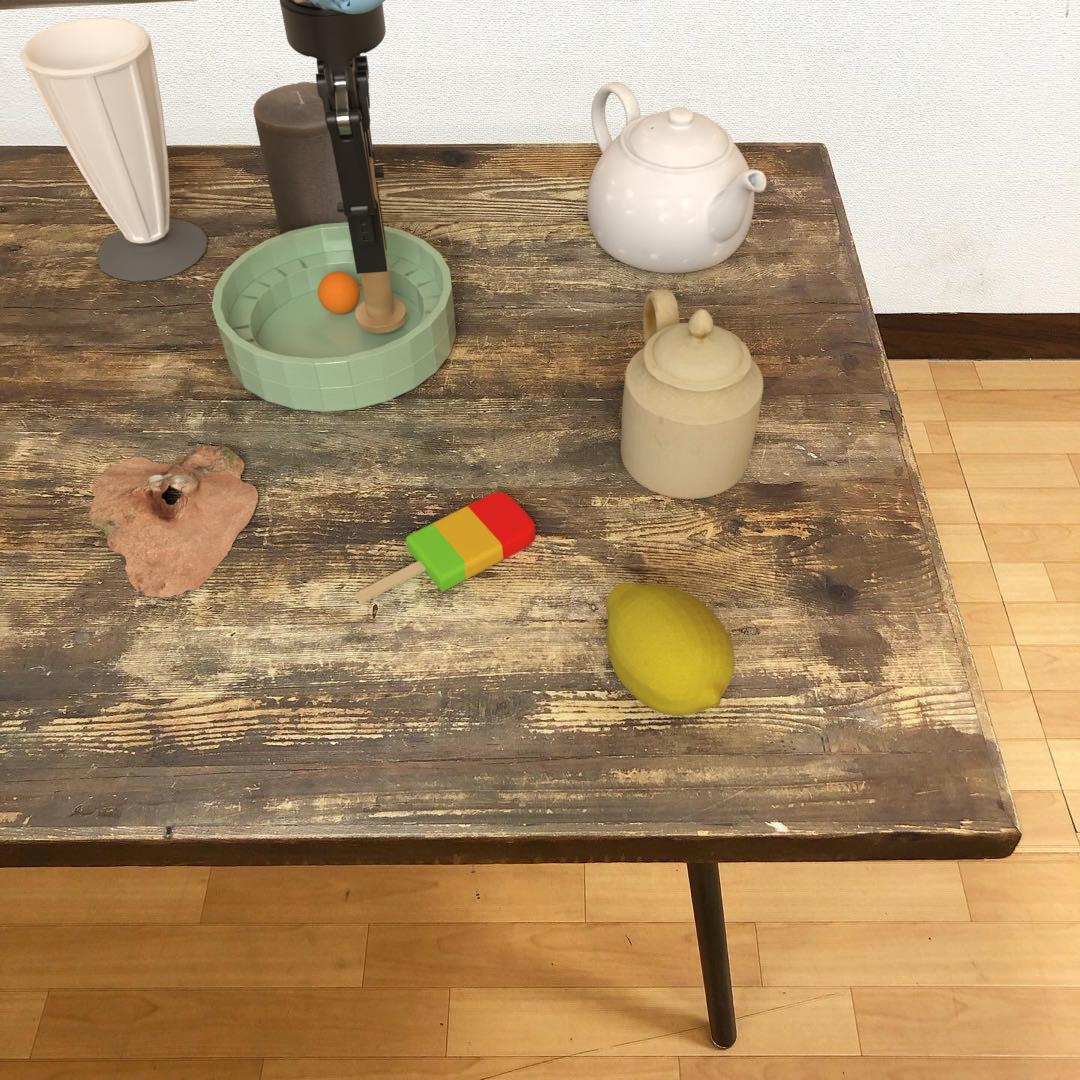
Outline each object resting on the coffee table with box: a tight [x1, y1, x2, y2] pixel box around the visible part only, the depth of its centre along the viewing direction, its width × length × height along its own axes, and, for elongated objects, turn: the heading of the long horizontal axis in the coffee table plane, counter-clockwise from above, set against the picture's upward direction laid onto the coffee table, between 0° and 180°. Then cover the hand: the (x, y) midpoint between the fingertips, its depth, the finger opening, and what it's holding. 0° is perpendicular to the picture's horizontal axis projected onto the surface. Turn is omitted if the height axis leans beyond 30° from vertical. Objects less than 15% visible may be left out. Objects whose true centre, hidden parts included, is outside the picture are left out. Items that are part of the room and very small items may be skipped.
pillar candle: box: [253, 81, 348, 235], centre depth 110 cm, size 10×10×15 cm
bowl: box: [211, 222, 457, 413], centre depth 100 cm, size 22×22×6 cm
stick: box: [355, 157, 407, 333], centre depth 95 cm, size 5×5×16 cm
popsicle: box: [354, 491, 537, 604], centre depth 83 cm, size 6×15×2 cm, turn 125°
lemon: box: [605, 582, 736, 717], centre depth 73 cm, size 11×8×8 cm
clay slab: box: [88, 445, 259, 599], centre depth 85 cm, size 15×13×3 cm
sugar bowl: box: [620, 288, 764, 500], centre depth 86 cm, size 15×11×15 cm
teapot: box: [586, 81, 768, 274], centre depth 108 cm, size 19×18×14 cm
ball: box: [318, 272, 360, 314], centre depth 103 cm, size 4×4×4 cm
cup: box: [19, 16, 209, 283], centre depth 105 cm, size 12×12×22 cm
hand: (371, 259), depth 97 cm, fingers closed on stick, 2 cm apart
